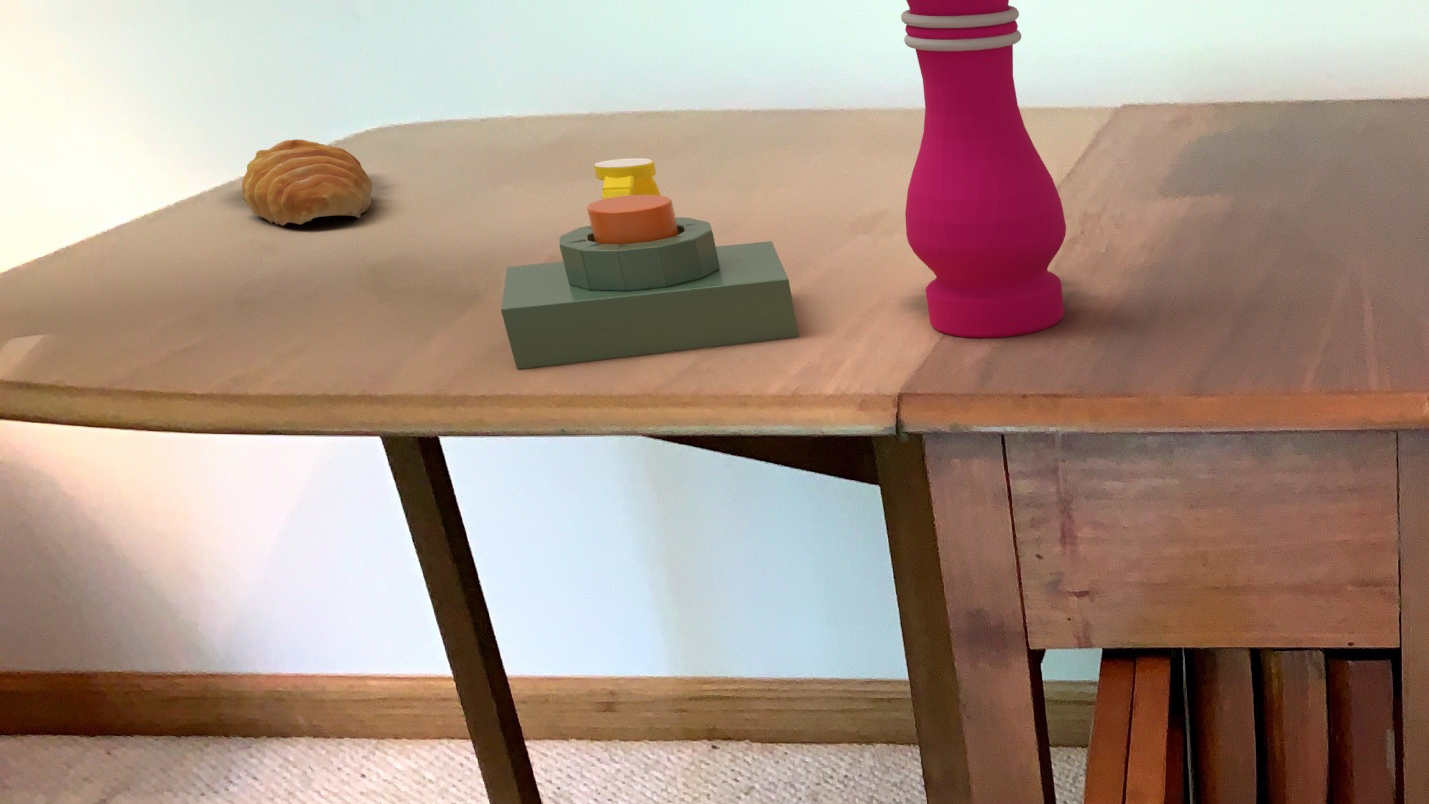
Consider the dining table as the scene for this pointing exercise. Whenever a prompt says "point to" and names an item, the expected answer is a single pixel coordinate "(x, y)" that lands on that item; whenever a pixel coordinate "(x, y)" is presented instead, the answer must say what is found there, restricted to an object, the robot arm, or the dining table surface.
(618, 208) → the button
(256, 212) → the pastry
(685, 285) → the control box
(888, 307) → the dining table surface
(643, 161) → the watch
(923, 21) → the pepper mill
